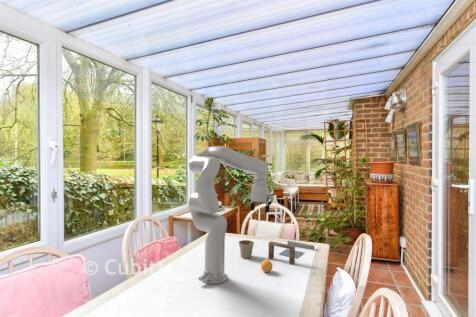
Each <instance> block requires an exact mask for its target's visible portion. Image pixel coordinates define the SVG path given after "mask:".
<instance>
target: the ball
mask: <svg viewBox="0 0 476 317" xmlns="http://www.w3.org/2000/svg"><path fill="white" fill-rule="evenodd" d="M260 268H261V271H263V272H264V273H269V272H271V271H272V270H273V263H272V261H270V259H265V260H262V261H261V263H260Z"/></svg>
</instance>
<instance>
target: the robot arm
mask: <svg viewBox="0 0 476 317" xmlns="http://www.w3.org/2000/svg"><path fill="white" fill-rule="evenodd" d="M221 164H223V165H225V166H228V167H230V168H233V169H235V170H236V169H237V170H242V171H243V173H244V174H248V175H253V179H252V180H251V181H252V183H253V184H252V185H251V191H250V194H248V195H246V198H247V201H248V202H249V204H250V211H255V208H256V207H255V202H257V203H264V204H265V210H264V212H265V213H269V212H270V206H271V205H272V204H273V201H274V200H275V198H274V197H273V196H271V195H270V192H269V190H270V189H269V185H268V184H267V183H268V180H267V179H268V164H267V162H266V161H264V160H262V159H260V158H257V157H254V156H250V155H247V154H243V153H240V152H238V151H236V150H234V149H232V148H230V147H227V146H225V145H218V146H217V145H215V146H214V145H213V146H209V147H207V148H206V149H203V150H201V151H200V152H198V153H197V154H195V155H193V157H191V159H190V160H189V163H188V167H189V170H190V171H191V172H192V173H193V174H198V175H199V176H198V178H197V180H196V182H195V190H196V192H194V193H193V194H191V195H190V197H189V199H188V208H189V213H190V216H191V219H192V222H193V225H194V227H195V228H196V229H197V230H198V231H201V232H205V233H208V235H207V236H206V238H205V242H204V271H203V274H201V276H199V277H198V280H199V281H200V282H204V283H205V284H208V285H209V284H210V285H219V284H223V283H225V282H226V281H227V280H228V274H227V273H226V272H225V250H226V249H225V248H226V247H225V245H226V244H225V241H226V238H225V237H226V232H227V231H226V230H227V227H228V222H227V219H226V217H225V216H223V215H221V214H220V213H217V212H218V211H219V209H220V204H219V199H218V196H217V192H216V188H215V179H216V177H217V175H218V173H219V171H220V169H221ZM269 200H270V201H269Z"/></svg>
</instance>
